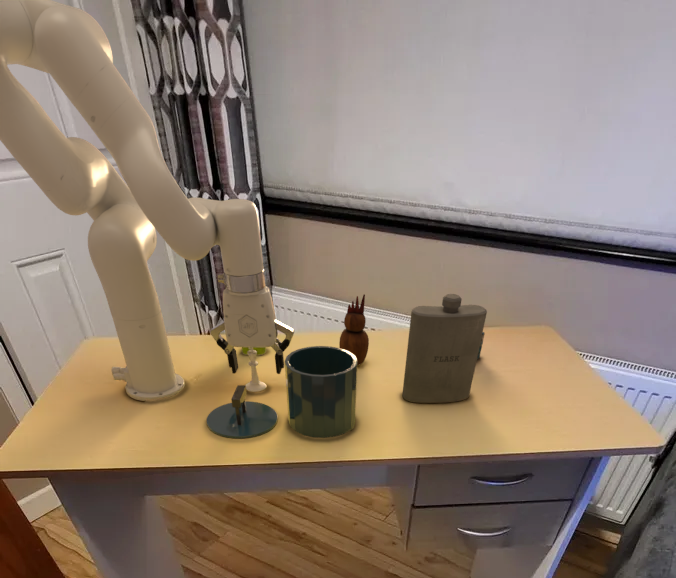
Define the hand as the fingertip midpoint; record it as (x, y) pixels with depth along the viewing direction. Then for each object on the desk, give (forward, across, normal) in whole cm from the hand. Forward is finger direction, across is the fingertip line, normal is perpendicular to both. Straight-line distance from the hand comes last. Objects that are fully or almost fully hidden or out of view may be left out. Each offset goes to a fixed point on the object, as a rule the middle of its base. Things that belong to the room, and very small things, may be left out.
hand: (257, 371), depth 110 cm
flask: (+5, +39, 0) cm, 39 cm away
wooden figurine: (+5, +20, +16) cm, 26 cm away
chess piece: (+4, -1, 0) cm, 4 cm away
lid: (+3, -1, -15) cm, 15 cm away
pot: (+4, +15, -14) cm, 21 cm away
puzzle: (+6, +47, +21) cm, 52 cm away
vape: (+4, -5, +20) cm, 21 cm away
